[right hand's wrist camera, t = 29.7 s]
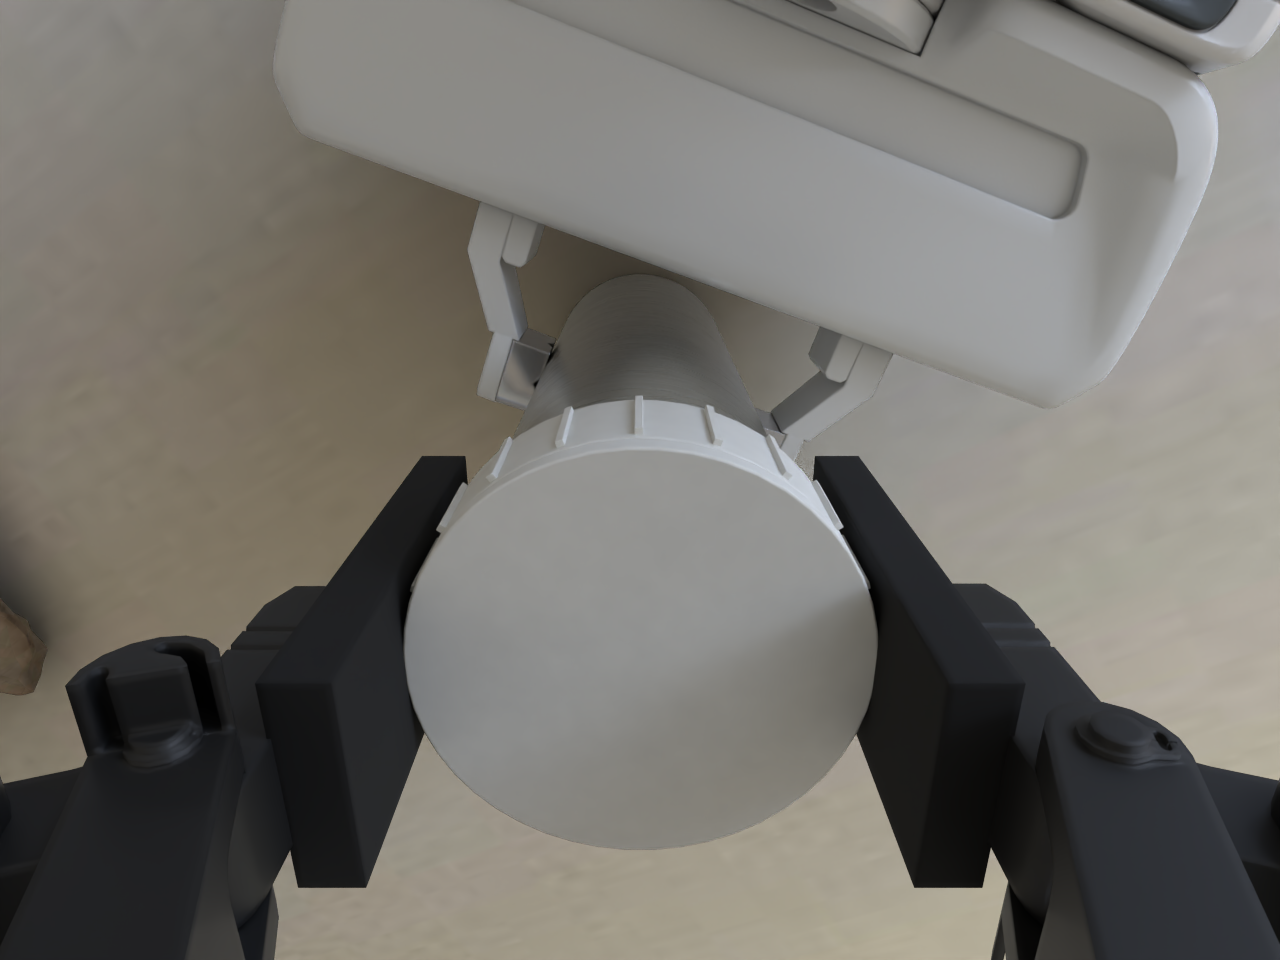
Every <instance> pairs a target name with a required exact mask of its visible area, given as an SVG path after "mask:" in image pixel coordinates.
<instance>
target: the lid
mask: <svg viewBox="0 0 1280 960" xmlns="http://www.w3.org/2000/svg"><path fill="white" fill-rule="evenodd" d="M841 528H843V525H842V523H841V522H840V520H839V518H838V516H837V514H836V513H835V511H834V509H833V507H832V505H831V504H830V502H829V500H828V498H827V496H826V495H825V493H824V491H823V489H822V487H821V486H820V484H819V482H818V481H817V480H815V481H813V482H812V483H811V481H810V480H809V479H808V477H807V476H806V475H805V473H804V472H803V471H802V470H801V469H800V468H799V467H798V466H797V465H796V464H795V463H794V461H793V460H792V459H791V458H790V457H789V456H788V455H787V454H786V453H785V452H783V451H782V450H781V449H780V448H779V446H778V444H777V442H776V440H775V438H774V437H772V436H771V435H768V436H767V437H766V438H765V437H764V436H762V435H761V434H759V433H757V432H755V431H754V430H752V429H750V428H749V427H747V426H745V425H743V424H742V423H740V422H738V421H735V420H733V419H730V418H728V417H725V416H723V415H721V414H718V413H716V412H715V411H714V408H713V407H712V406H709V405H706V406H705V409H702V408H698V407H695V406H691V405H687V404H681V403H674V402H666V401H659V400H643V396H635V400H624V401H616V402H607V403H599V404H595V405H591V406H587V407H583V408H579V409H575V410H573V408H572V406H570V407H567V408H565V409H564V412H563V414H561V415H558V416H556V417H553V418H551V419H548V420H546V421H544V422H542V423H540V424H538V425H536V426H535V427H533V428H531V429H529V430H528V431H526V432H524V433H522V434H520V435H519V436H518V437H516V438H515V439H514V440H512V439H511V437H510V436H509V437H508V438H506V439H505V440H504V441H503V443H502V445H501V447H500V450H499V451H498V452H497V453H496V454H495V455H494V456H493V457H492V458H491V459H490V460H489V461H488V462H487V463H486V464H485V465H484V466H483V467H482V468H481V469H480V470H479V471H478V473H477V474H476V475H475V477H474V478H473V479H472V481H471V482H470V483H469V484H468V485H467V484H465V483H464V482H463V483H462V484H461V486H460V487H459V489H458V491H457V493H456V495H455V496H454V498H453V500H452V502H451V504H450V505H449V507H448V509H447V511H446V513H445V514H444V516H443V518H442V520H441V522H440V524H439V525H438V527H437V529H436V530H437V531H438V532H440V533H441V534H440V536H439V538H436V540H435V542H434V544H433V546H432V548H431V550H430V551H429V553H428V555H427V557H426V559H425V561H424V563H423V564H422V566H421V568H420V570H419V572H418V574H417V576H416V577H415V579H414V581H413V583H412V585H411V588H410V592H412V595H411V597H410V600H409V604H408V609H407V614H406V619H405V625H404V636H403V653H404V661H405V669H406V677H407V685H408V690H409V694H410V697H411V701H412V704H413V708H414V710H415V712H416V715H417V717H418V719H419V721H420V724H421V726H422V728H423V730H424V732H425V734H426V736H427V737H428V739H429V740H430V742H431V744H432V745H433V747H434V748H435V750H436V752H437V753H438V755H439V756H440V757H441V758H442V759H443V761H444V762H445V763H446V764H447V765H448V767H449V768H450V769H451V770H452V772H453V773H454V774H455V775H456V776H457V777H458V778H459V779H460V780H461V781H462V782H464V783H465V784H466V785H467V786H468V787H469V788H470V789H471V790H472V791H473V792H474V793H476V794H477V795H478V796H480V797H481V798H482V799H484V800H485V801H486V802H488V803H489V804H490V805H492V806H493V807H495V808H496V809H498V810H499V811H501V812H503V813H505V814H506V815H508V816H510V817H512V818H513V819H515V820H517V821H519V822H521V823H523V824H525V825H528V826H530V827H532V828H534V829H537V830H539V831H541V832H544V833H546V834H550V835H553V836H556V837H559V838H562V839H565V840H569V841H572V842H577V843H582V844H587V845H592V846H596V847H604V848H614V849H624V850H657V849H667V848H678V847H685V846H690V845H695V844H700V843H705V842H709V841H713V840H716V839H719V838H722V837H726V836H729V835H732V834H735V833H738V832H740V831H742V830H745V829H747V828H749V827H752V826H754V825H756V824H759V823H761V822H763V821H764V820H766V819H768V818H770V817H771V816H773V815H775V814H777V813H779V812H780V811H782V810H784V809H785V808H787V807H788V806H789V805H791V804H792V803H794V802H795V801H796V800H798V799H799V798H801V797H802V796H803V795H805V794H806V793H807V792H808V791H809V790H810V789H811V788H812V787H814V786H815V785H816V784H817V783H818V782H819V781H820V780H821V779H822V778H823V777H824V776H825V775H826V774H827V773H828V772H829V771H830V770H831V768H832V767H833V766H834V765H835V764H836V762H837V761H838V760H839V759H840V758H841V756H842V755H843V754H844V752H845V751H846V749H847V747H848V746H849V744H850V743H851V741H852V740H853V738H854V736H855V735H856V733H857V731H858V729H859V727H860V725H861V722H862V720H863V718H864V716H865V714H866V712H867V709H868V706H869V702H870V699H871V695H872V689H873V682H874V674H875V666H876V659H877V649H878V628H877V622H876V617H875V611H874V605H873V602H872V599H871V596H870V593H869V590H868V589H870V588H871V587H870V583H869V581H868V579H867V577H866V575H865V573H864V571H863V570H862V568H861V566H860V564H859V562H858V560H857V559H856V557H855V555H854V553H853V551H852V549H851V547H850V546H849V544H848V542H847V540H846V538H845V536H844V535H841V533H840V531H839V530H840V529H841Z"/></svg>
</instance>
